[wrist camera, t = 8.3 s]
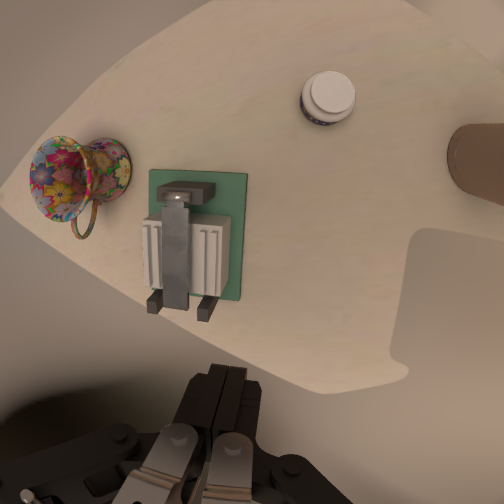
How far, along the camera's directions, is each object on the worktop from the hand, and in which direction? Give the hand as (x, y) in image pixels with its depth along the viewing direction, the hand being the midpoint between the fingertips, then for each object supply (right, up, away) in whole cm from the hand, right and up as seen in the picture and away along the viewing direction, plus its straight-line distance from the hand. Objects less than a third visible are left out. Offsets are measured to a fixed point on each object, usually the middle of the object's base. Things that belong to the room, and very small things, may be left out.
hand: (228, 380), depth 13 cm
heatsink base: (-6, +8, +27) cm, 29 cm away
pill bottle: (+9, +22, +20) cm, 31 cm away
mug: (-18, +15, +26) cm, 35 cm away
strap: (-7, +5, +20) cm, 22 cm away
